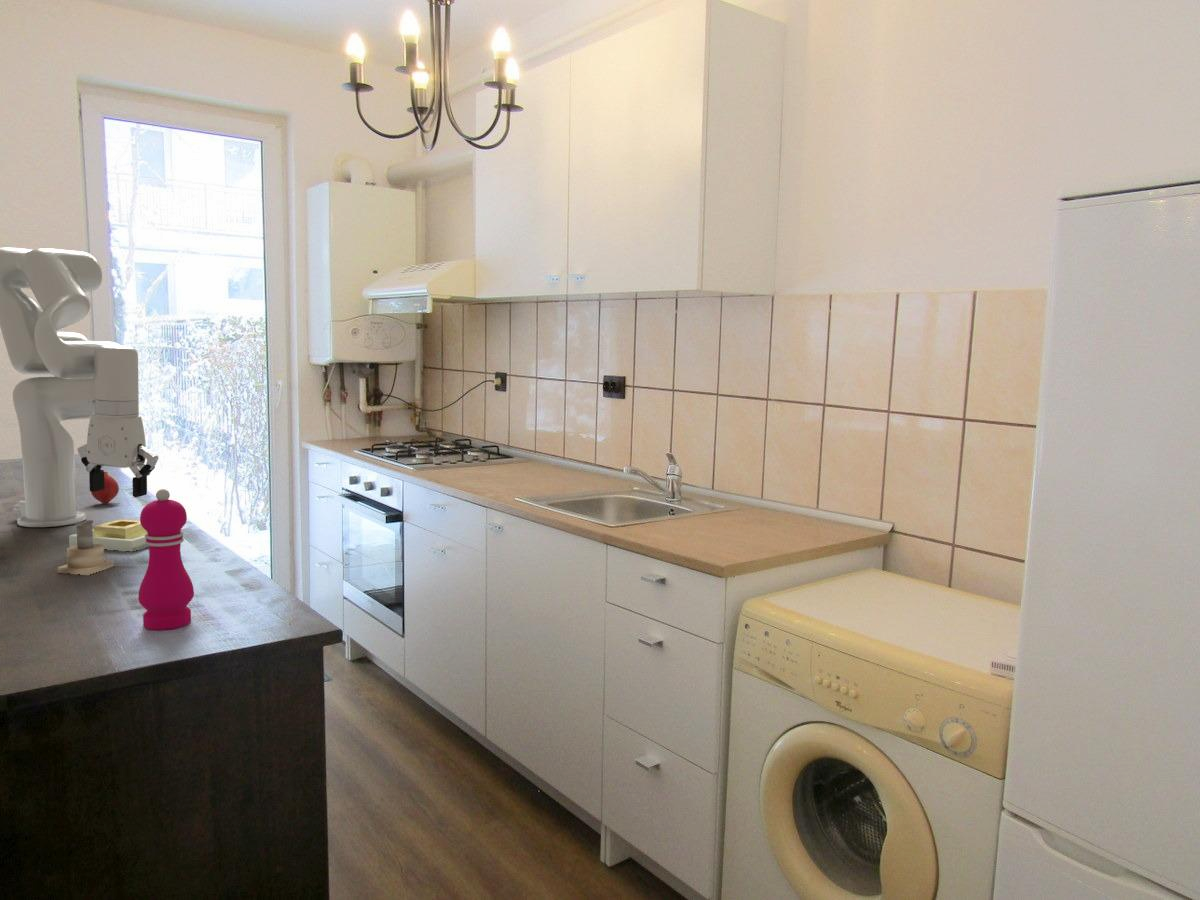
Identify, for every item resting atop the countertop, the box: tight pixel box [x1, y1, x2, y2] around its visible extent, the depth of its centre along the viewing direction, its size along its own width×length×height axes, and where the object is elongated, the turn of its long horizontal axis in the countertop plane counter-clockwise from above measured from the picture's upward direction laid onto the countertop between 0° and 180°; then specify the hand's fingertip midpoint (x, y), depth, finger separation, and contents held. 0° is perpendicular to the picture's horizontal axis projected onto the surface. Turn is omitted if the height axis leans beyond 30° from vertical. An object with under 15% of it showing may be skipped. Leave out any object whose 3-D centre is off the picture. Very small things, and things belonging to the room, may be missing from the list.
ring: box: [93, 518, 147, 539], centre depth 169 cm, size 7×9×3 cm
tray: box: [68, 528, 149, 552], centre depth 169 cm, size 14×14×2 cm
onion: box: [90, 470, 120, 505], centre depth 204 cm, size 6×6×8 cm
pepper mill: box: [137, 488, 195, 631], centre depth 122 cm, size 7×7×20 cm
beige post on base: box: [57, 519, 115, 576], centre depth 149 cm, size 6×6×9 cm
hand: (118, 493), depth 168 cm, fingers open, 9 cm apart
